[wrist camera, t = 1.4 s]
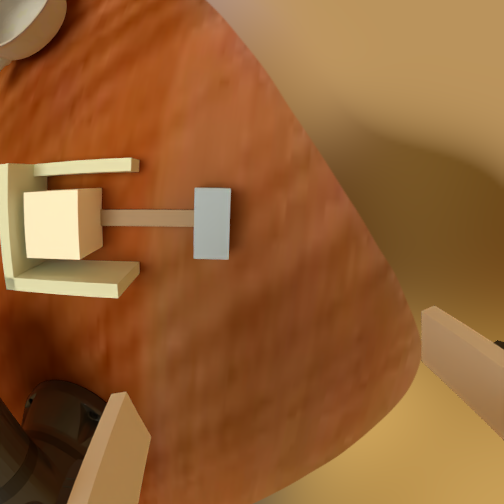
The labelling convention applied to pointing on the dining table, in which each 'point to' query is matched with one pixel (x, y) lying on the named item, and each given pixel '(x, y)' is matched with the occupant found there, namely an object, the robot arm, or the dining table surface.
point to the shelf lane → (55, 270)
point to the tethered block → (118, 222)
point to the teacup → (28, 27)
